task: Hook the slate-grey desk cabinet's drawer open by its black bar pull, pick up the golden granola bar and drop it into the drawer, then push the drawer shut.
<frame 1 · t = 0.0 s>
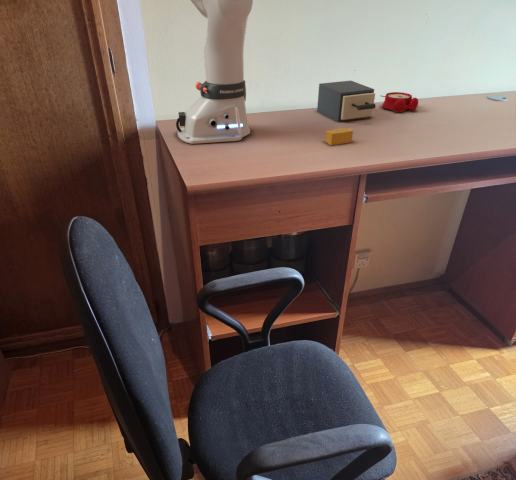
cabinet: (343, 114, 156), on the table
drawer: (351, 103, 149), point 4 cm above the table, slide at 0.5 cm
granola bar: (338, 142, 133), on the table
alarm clock: (399, 109, 161), on the table
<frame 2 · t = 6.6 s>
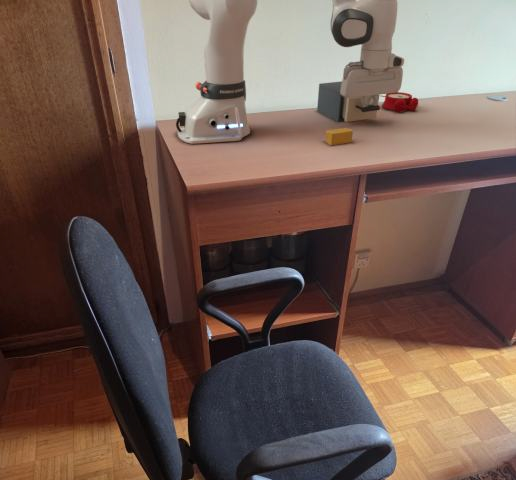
hand: (367, 110, 143), 4 cm above the table, tool pointing down, fingers closed, pressing on drawer
drawer: (355, 105, 148), point 4 cm above the table, slide at 2.9 cm, touching gripper
everything else where it was.
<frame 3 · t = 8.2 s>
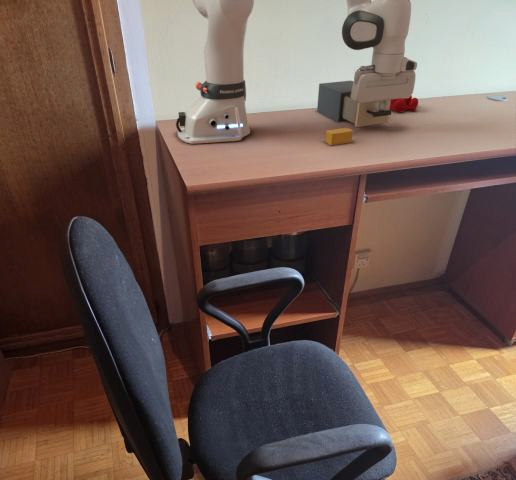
hand: (378, 115, 139), 4 cm above the table, tool pointing down, fingers closed, pressing on drawer
drawer: (366, 110, 143), point 4 cm above the table, slide at 9.2 cm, touching gripper
everything else where it was.
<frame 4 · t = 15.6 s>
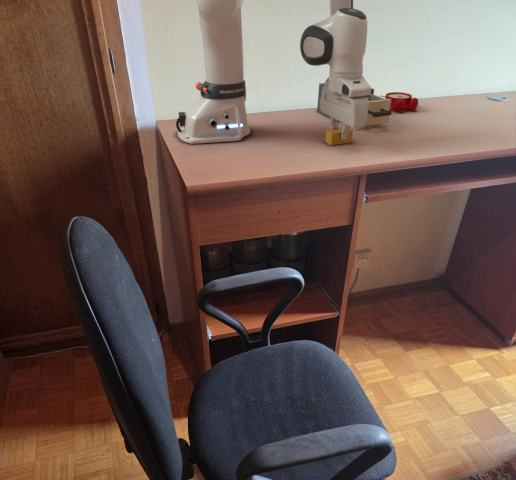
hand: (339, 136, 132), 2 cm above the table, tool pointing down, fingers closed on granola bar, 3 cm apart
drawer: (366, 110, 143), point 4 cm above the table, slide at 9.3 cm
granola bar: (338, 142, 133), on the table, touching gripper
everything else where it was.
when the fingers open (6 cm above the table, at t = 22.1 s): granola bar drops 2 cm, resting on drawer.
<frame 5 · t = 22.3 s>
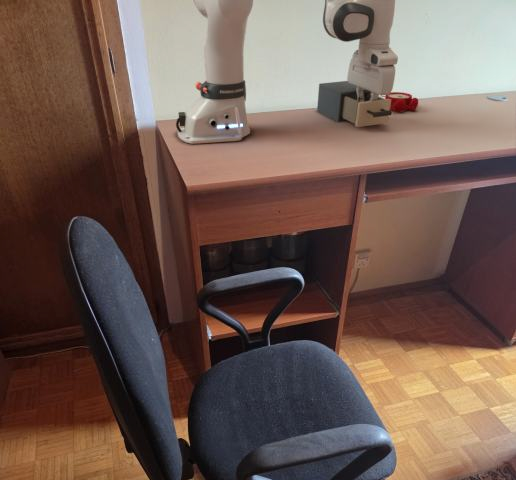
hand: (365, 105, 143), 6 cm above the table, tool pointing down, fingers open, 5 cm apart
drawer: (366, 110, 143), point 4 cm above the table, slide at 9.4 cm, touching granola bar, gripper
granola bar: (364, 117, 145), point 2 cm above the table, touching drawer
everything else where it was.
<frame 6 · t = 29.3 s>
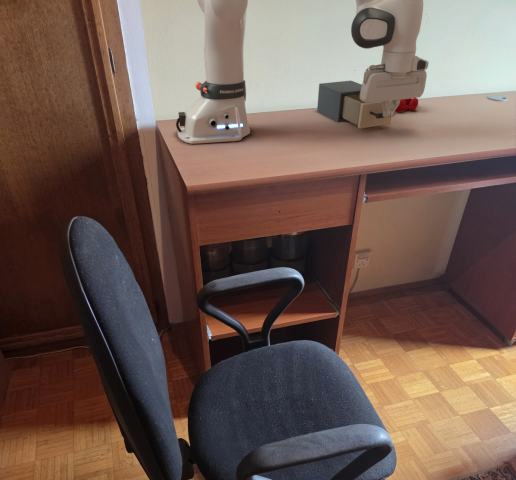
hand: (388, 116, 135), 5 cm above the table, tool pointing down, fingers closed, pressing on drawer
drawer: (369, 111, 142), point 4 cm above the table, slide at 10.9 cm, touching granola bar, gripper
granola bar: (366, 118, 144), point 2 cm above the table, touching drawer
everything else where it was.
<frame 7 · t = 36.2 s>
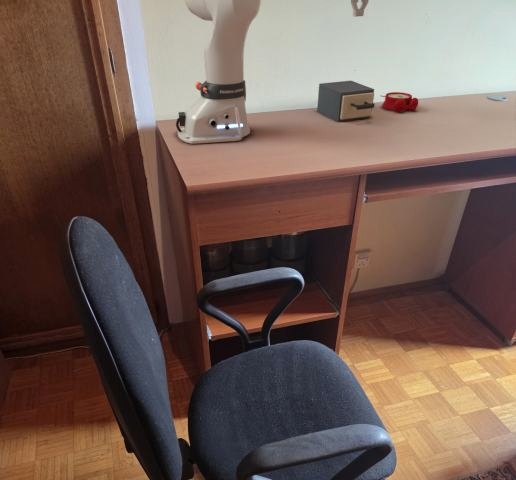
hand: (357, 16, 142), 27 cm above the table, tool pointing down, fingers closed
drawer: (351, 103, 150), point 4 cm above the table, slide at 0.0 cm, touching cabinet, granola bar
granola bar: (348, 110, 152), point 2 cm above the table, touching drawer
everything else where it was.
at the end: drawer pulled out 10.9 cm at the most during the clip, back to where it started at the end; granola bar inside the target area in the cabinet (3.3 cm from its centre), point 2.0 cm above the cabinet's base; drawer slide at 0.0 cm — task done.
